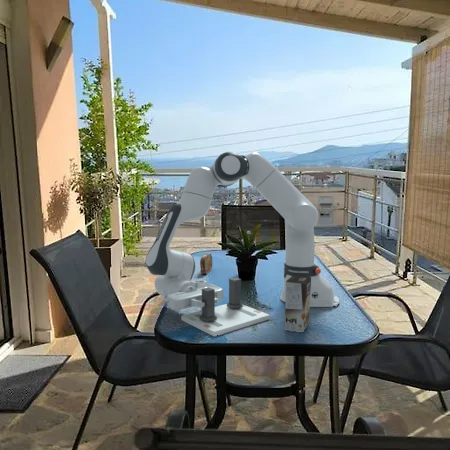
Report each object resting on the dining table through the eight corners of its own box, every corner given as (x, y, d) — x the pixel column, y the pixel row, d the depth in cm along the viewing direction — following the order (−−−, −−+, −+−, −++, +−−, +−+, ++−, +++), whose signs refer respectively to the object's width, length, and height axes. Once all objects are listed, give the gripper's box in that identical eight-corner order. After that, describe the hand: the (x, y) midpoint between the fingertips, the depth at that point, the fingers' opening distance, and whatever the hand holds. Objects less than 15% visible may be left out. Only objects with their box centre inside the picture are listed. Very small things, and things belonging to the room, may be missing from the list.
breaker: (226, 306, 153) (227, 278, 151) (235, 304, 155) (235, 277, 154) (234, 309, 150) (234, 281, 148) (242, 307, 152) (243, 279, 151)
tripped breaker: (199, 319, 140) (199, 288, 139) (209, 316, 143) (209, 286, 141) (206, 322, 137) (206, 291, 136) (216, 319, 140) (216, 289, 138)
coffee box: (304, 333, 133) (305, 283, 131) (284, 330, 136) (285, 281, 134) (309, 323, 142) (311, 276, 140) (290, 320, 144) (292, 274, 142)
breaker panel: (181, 320, 144) (181, 315, 144) (235, 305, 160) (235, 301, 159) (214, 336, 131) (214, 331, 130) (269, 319, 146) (269, 314, 146)
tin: (205, 276, 202) (205, 258, 200) (199, 275, 202) (199, 258, 201) (212, 268, 216) (212, 252, 215) (206, 268, 217) (206, 251, 216)
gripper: (159, 289, 142) (183, 300, 132) (208, 279, 155) (233, 288, 145) (160, 308, 143) (183, 319, 132) (208, 296, 156) (233, 306, 145)
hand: (209, 303), depth 139 cm, fingers open, 4 cm apart
